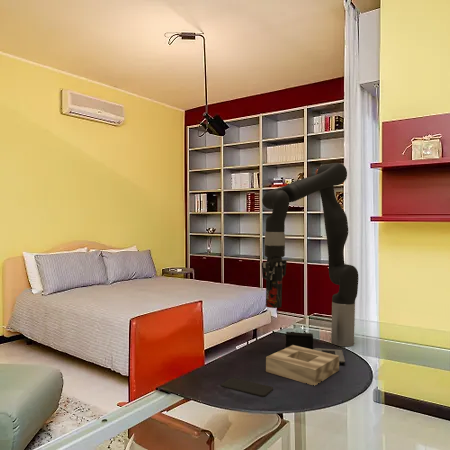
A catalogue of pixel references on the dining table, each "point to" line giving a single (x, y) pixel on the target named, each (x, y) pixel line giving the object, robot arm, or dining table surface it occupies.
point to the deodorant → (275, 290)
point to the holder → (302, 364)
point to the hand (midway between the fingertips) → (274, 288)
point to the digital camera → (299, 339)
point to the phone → (247, 387)
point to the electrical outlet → (332, 351)
